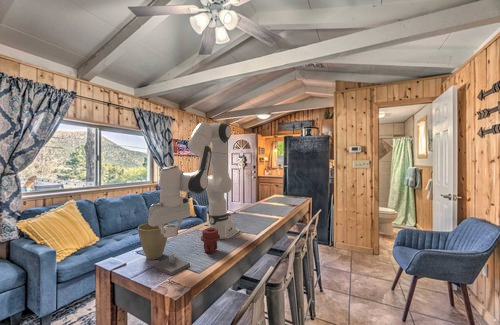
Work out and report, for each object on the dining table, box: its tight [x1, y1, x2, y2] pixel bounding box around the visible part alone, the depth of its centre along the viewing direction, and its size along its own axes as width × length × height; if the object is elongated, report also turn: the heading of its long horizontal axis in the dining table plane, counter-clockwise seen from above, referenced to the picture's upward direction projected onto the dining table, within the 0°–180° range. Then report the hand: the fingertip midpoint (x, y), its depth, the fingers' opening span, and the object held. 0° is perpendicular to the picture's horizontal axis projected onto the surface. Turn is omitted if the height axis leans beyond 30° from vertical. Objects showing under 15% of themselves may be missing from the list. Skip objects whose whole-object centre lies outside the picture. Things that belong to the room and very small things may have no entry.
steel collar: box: [163, 223, 179, 238], centre depth 102 cm, size 6×6×4 cm
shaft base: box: [153, 253, 191, 276], centre depth 102 cm, size 10×13×6 cm
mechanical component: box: [200, 226, 221, 254], centre depth 119 cm, size 12×10×10 cm
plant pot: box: [137, 222, 170, 260], centre depth 114 cm, size 15×15×16 cm
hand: (170, 231), depth 102 cm, fingers closed on steel collar, 6 cm apart
